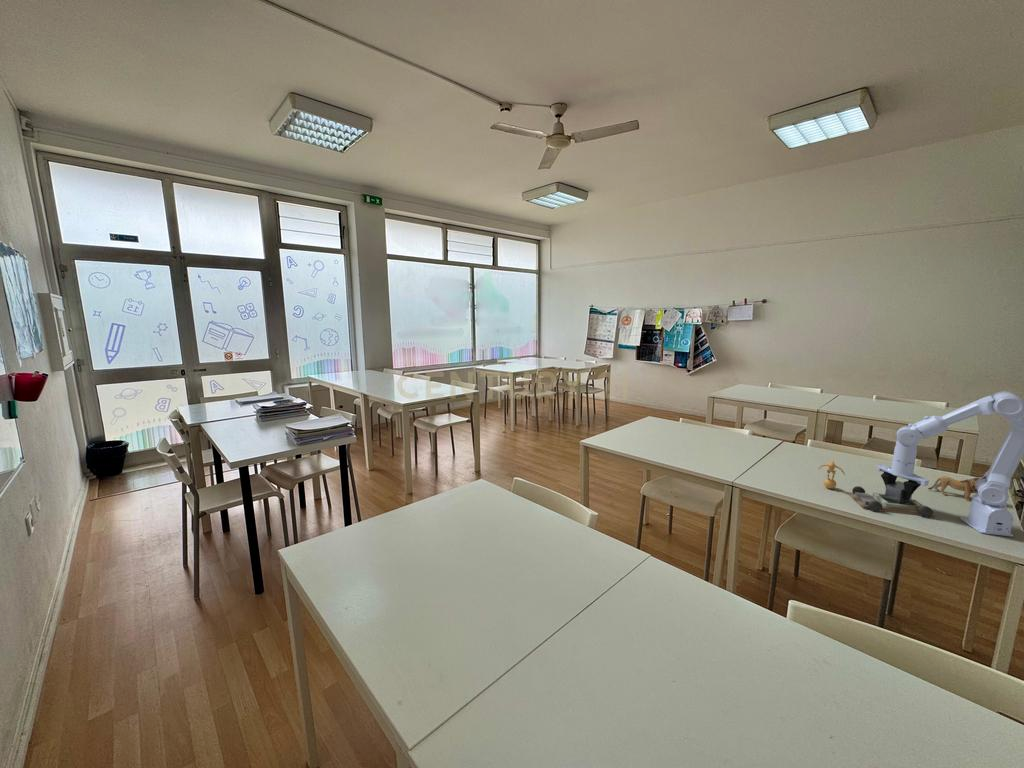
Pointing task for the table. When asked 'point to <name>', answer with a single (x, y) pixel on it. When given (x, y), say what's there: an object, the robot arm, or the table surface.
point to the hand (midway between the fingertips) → (897, 496)
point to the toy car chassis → (888, 503)
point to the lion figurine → (957, 485)
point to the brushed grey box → (895, 493)
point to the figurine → (830, 482)
